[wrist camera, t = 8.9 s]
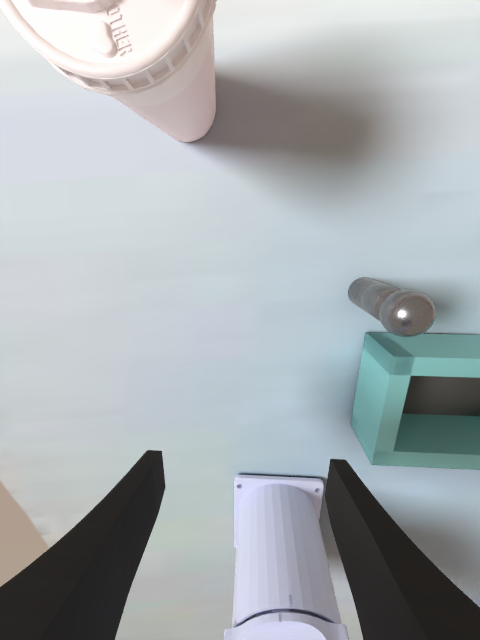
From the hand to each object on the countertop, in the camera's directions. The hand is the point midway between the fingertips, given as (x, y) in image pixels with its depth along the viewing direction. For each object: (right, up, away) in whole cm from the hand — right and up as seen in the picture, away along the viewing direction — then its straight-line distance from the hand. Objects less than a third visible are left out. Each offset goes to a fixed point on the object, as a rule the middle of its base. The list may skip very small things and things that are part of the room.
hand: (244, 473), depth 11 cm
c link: (+14, +2, +9) cm, 17 cm away
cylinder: (+8, +9, +7) cm, 14 cm away
